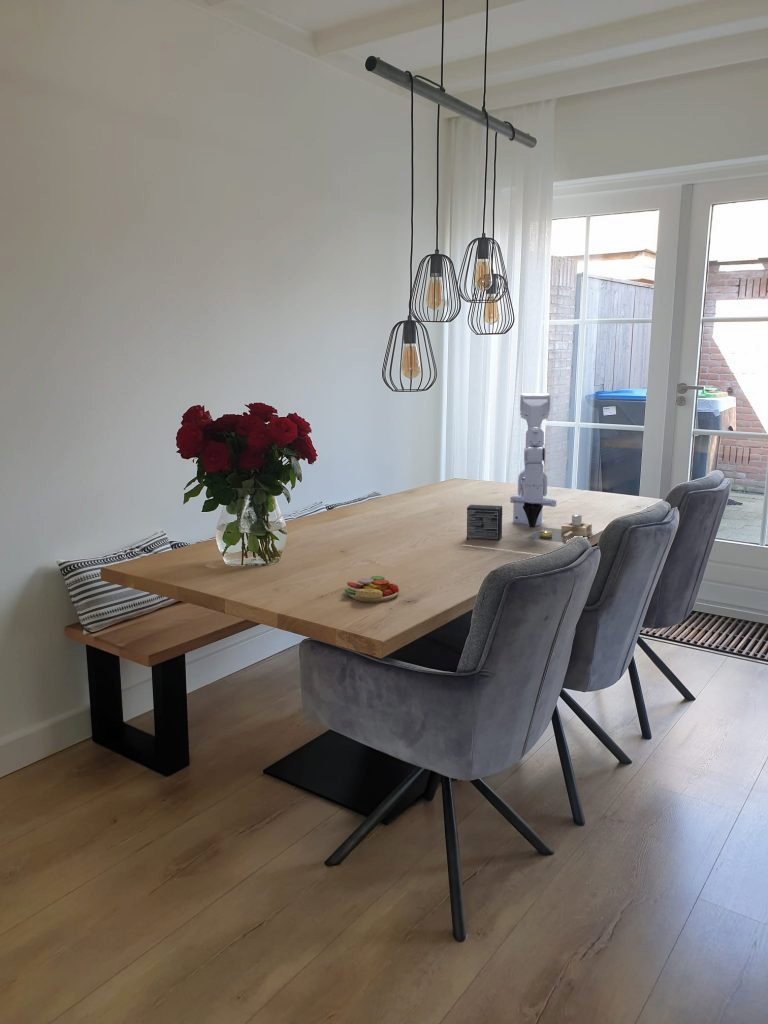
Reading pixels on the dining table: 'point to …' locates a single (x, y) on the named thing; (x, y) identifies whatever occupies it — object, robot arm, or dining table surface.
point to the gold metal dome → (545, 534)
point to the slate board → (555, 535)
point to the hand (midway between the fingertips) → (532, 527)
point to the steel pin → (576, 520)
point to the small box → (484, 522)
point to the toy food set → (372, 589)
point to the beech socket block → (577, 529)
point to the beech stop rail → (567, 536)
